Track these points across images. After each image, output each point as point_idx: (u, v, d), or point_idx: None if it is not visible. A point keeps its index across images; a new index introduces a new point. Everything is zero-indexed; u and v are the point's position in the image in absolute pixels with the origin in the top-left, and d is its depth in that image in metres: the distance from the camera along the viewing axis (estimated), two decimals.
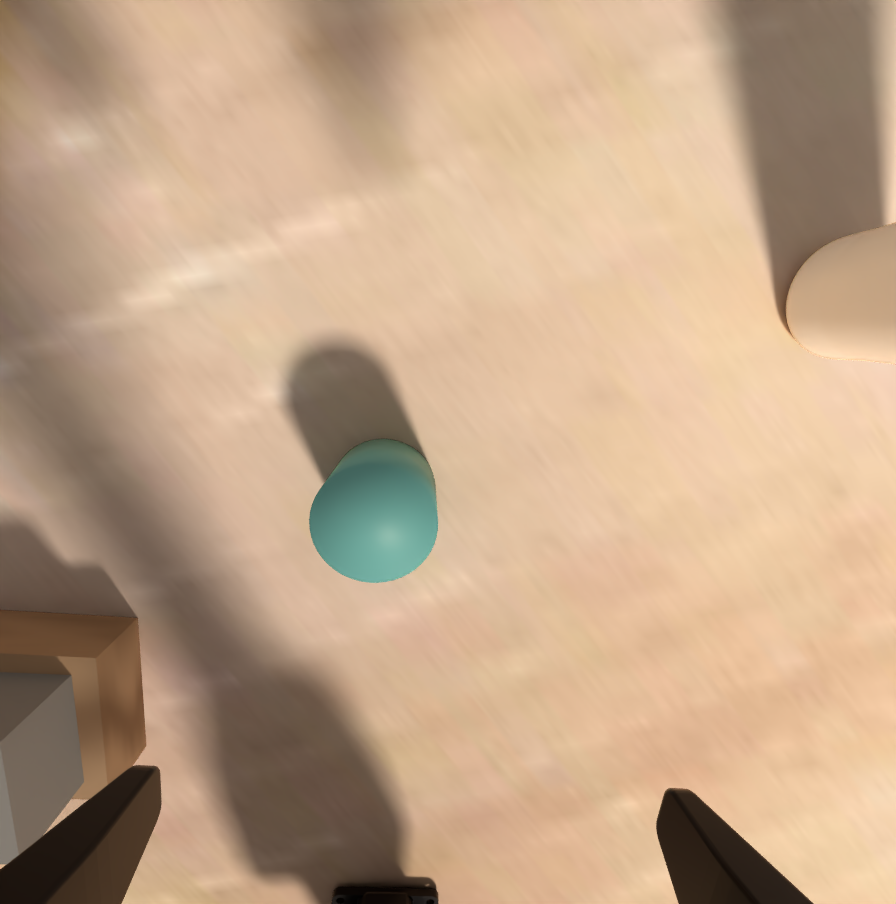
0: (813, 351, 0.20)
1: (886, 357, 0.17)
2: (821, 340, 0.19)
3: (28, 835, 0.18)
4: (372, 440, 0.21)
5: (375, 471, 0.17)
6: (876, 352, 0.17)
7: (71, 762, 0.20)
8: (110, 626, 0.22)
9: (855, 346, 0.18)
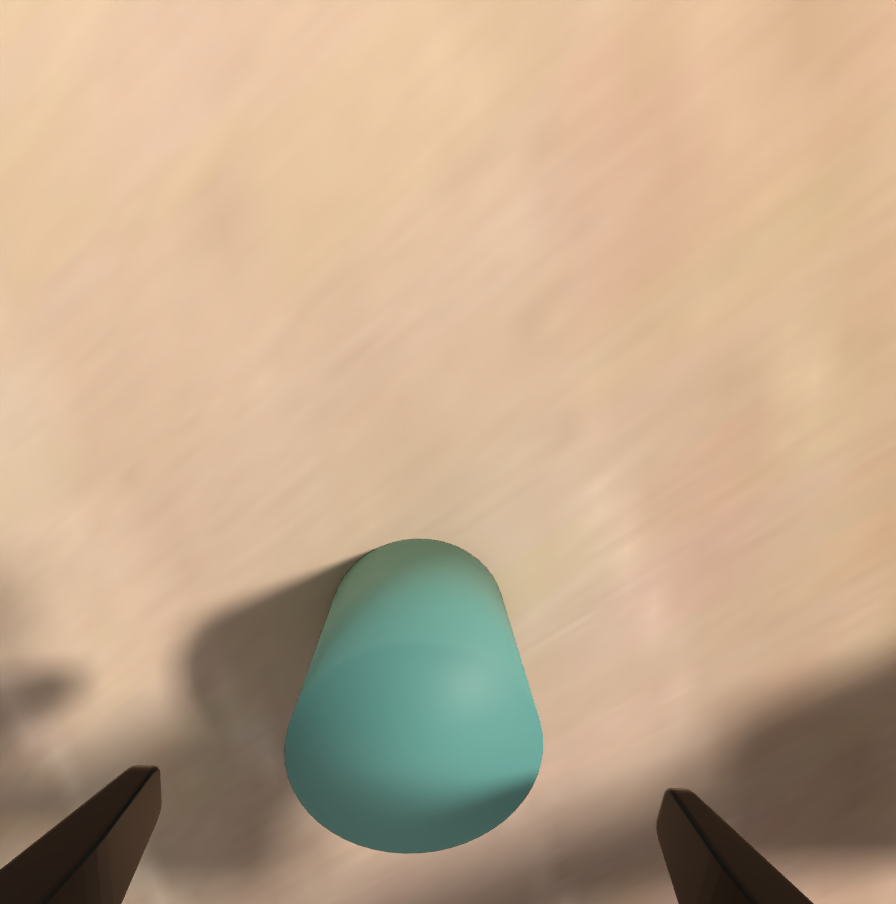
0: None
1: None
2: None
3: None
4: None
5: (301, 753, 0.09)
6: None
7: None
8: None
9: None
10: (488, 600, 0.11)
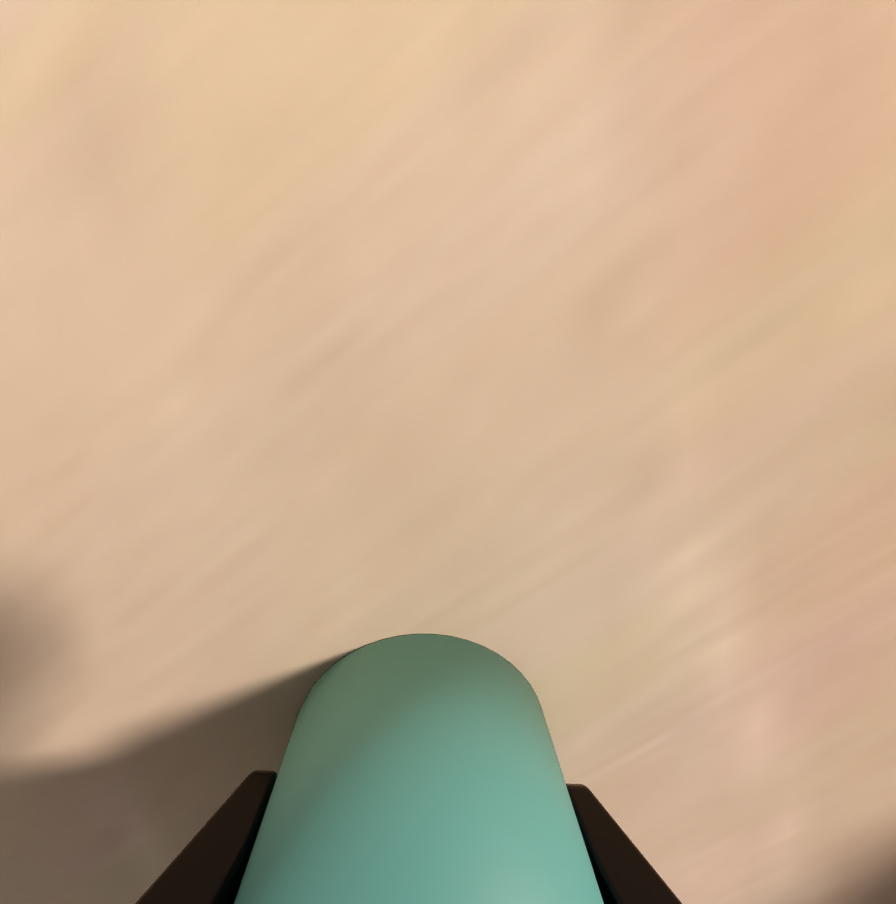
0: None
1: None
2: None
3: None
4: None
5: None
6: None
7: None
8: None
9: None
10: (534, 760, 0.07)
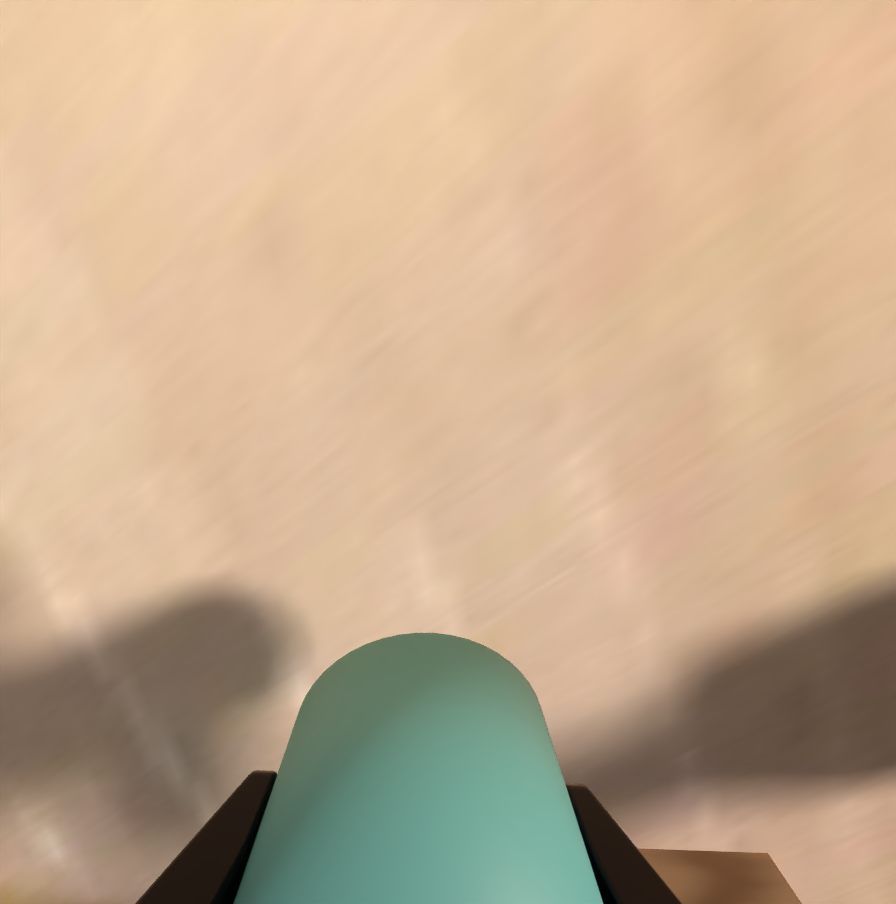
0: None
1: None
2: None
3: None
4: None
5: None
6: None
7: None
8: None
9: None
10: (534, 759, 0.07)
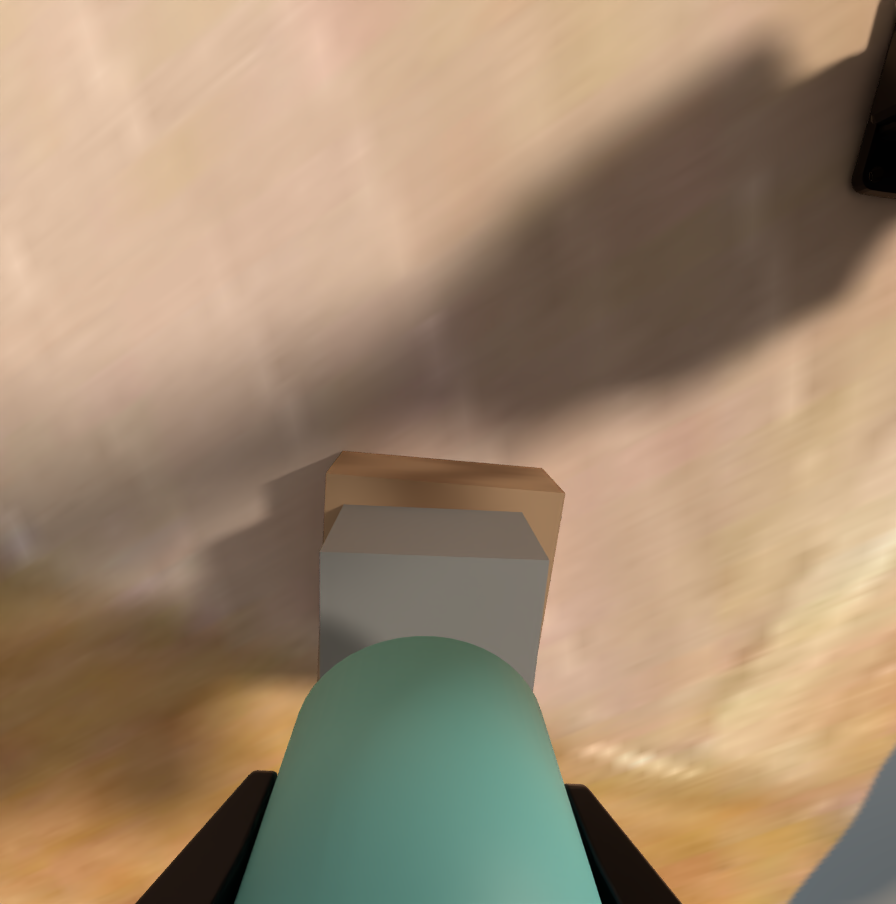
0: None
1: None
2: None
3: (515, 550, 0.12)
4: None
5: None
6: None
7: (470, 516, 0.15)
8: None
9: None
10: (533, 762, 0.07)
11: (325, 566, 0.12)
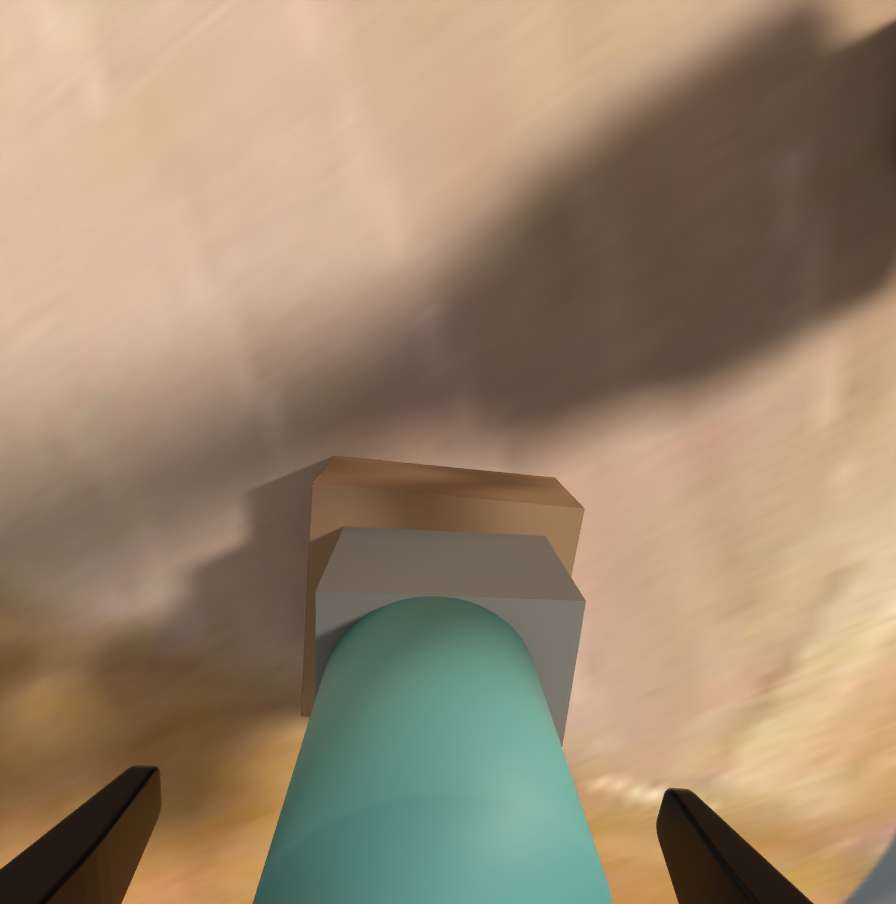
0: None
1: None
2: None
3: (544, 587, 0.11)
4: None
5: None
6: None
7: (487, 541, 0.13)
8: None
9: None
10: (522, 687, 0.08)
11: (322, 607, 0.10)
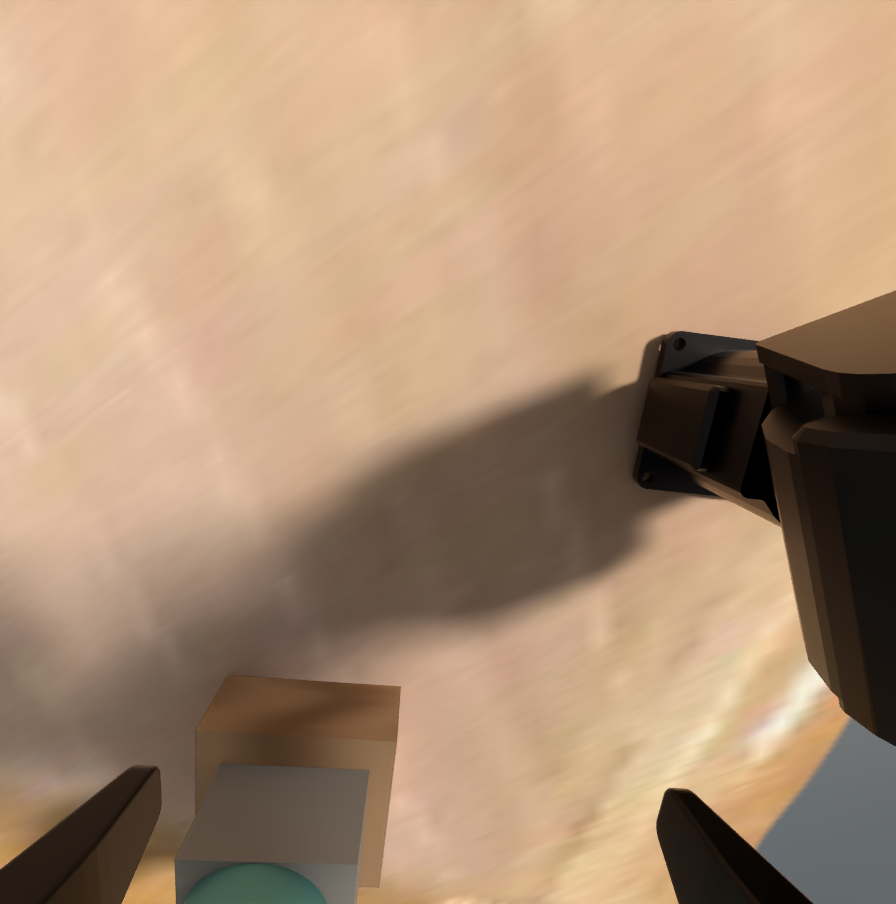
0: None
1: None
2: None
3: (335, 847, 0.16)
4: None
5: None
6: None
7: (321, 781, 0.18)
8: None
9: None
10: None
11: (179, 869, 0.15)
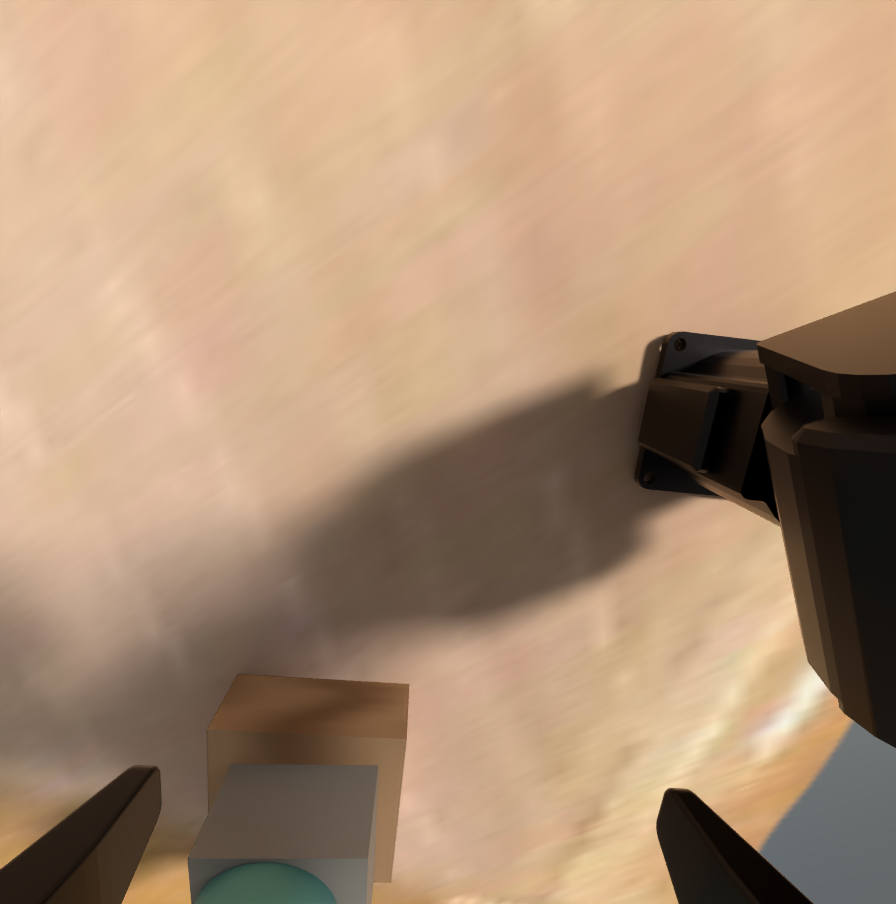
0: None
1: None
2: None
3: (346, 842, 0.16)
4: None
5: None
6: None
7: (331, 778, 0.18)
8: None
9: None
10: None
11: (192, 868, 0.15)
